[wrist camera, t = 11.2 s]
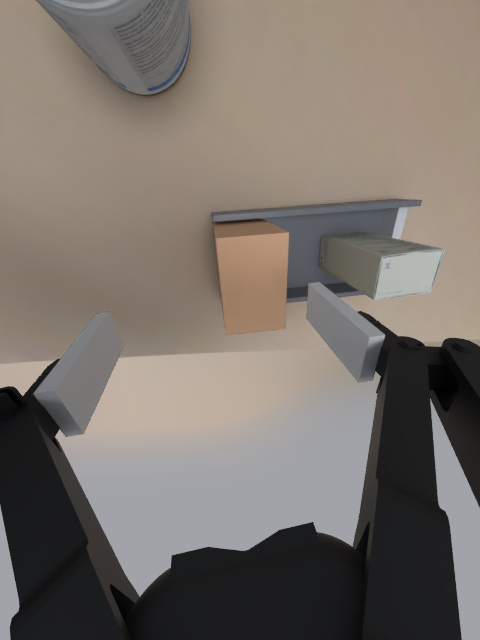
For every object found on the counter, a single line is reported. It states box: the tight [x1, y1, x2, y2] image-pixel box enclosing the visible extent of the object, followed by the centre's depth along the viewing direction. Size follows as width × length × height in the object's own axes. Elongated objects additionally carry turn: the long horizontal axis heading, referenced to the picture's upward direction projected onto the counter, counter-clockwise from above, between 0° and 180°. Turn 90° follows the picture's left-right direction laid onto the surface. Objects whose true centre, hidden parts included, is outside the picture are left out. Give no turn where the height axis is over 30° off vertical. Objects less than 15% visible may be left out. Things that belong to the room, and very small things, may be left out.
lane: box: [212, 199, 422, 310], centre depth 31 cm, size 24×11×4 cm, turn 93°
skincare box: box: [319, 232, 445, 300], centre depth 27 cm, size 6×4×12 cm
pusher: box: [213, 219, 289, 335], centre depth 26 cm, size 6×9×11 cm, turn 3°
